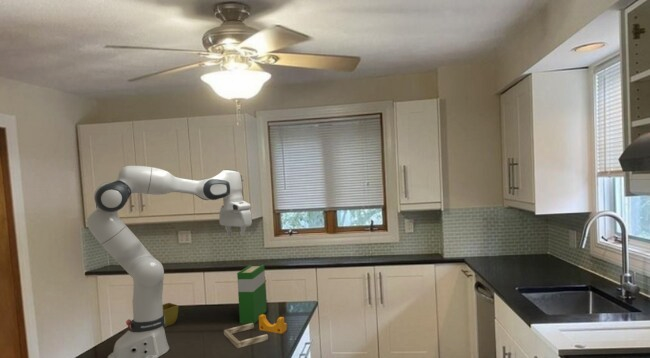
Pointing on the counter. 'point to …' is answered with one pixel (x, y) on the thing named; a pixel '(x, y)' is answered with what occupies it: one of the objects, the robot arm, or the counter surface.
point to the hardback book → (251, 293)
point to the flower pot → (170, 313)
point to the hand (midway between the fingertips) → (236, 236)
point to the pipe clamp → (275, 328)
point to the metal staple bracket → (246, 342)
